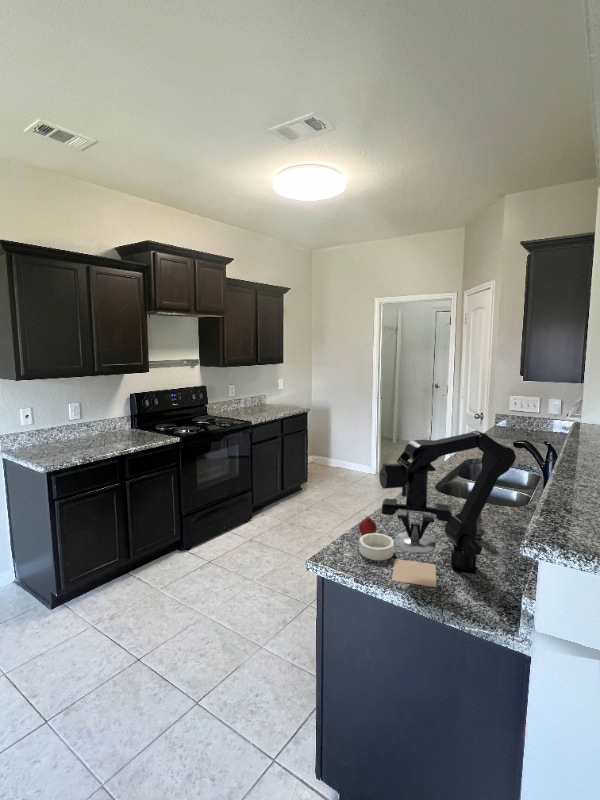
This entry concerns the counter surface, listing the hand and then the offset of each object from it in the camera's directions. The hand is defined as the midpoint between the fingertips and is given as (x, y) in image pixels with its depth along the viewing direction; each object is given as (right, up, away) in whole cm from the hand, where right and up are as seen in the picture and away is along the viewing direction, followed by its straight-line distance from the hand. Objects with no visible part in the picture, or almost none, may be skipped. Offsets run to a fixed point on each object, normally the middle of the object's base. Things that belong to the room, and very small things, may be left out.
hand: (414, 537), depth 123 cm
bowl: (-9, -9, +14) cm, 19 cm away
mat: (0, -11, +2) cm, 11 cm away
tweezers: (+3, -8, +27) cm, 29 cm away
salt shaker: (+26, -8, +22) cm, 35 cm away
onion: (-10, -8, +23) cm, 27 cm away
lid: (0, -2, 0) cm, 2 cm away
